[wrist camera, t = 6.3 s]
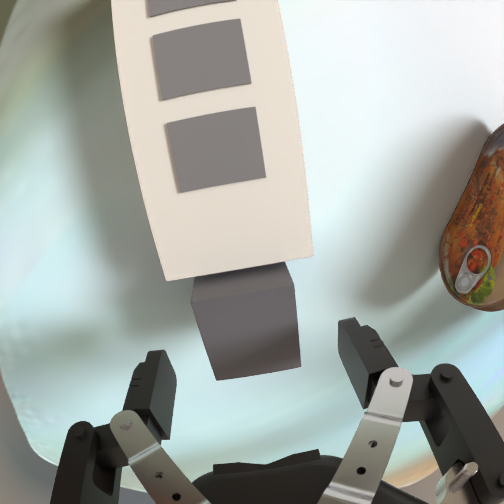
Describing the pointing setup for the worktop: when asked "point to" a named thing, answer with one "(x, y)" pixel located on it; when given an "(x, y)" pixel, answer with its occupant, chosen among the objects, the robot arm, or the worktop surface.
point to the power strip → (213, 132)
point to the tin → (478, 234)
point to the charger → (248, 320)
